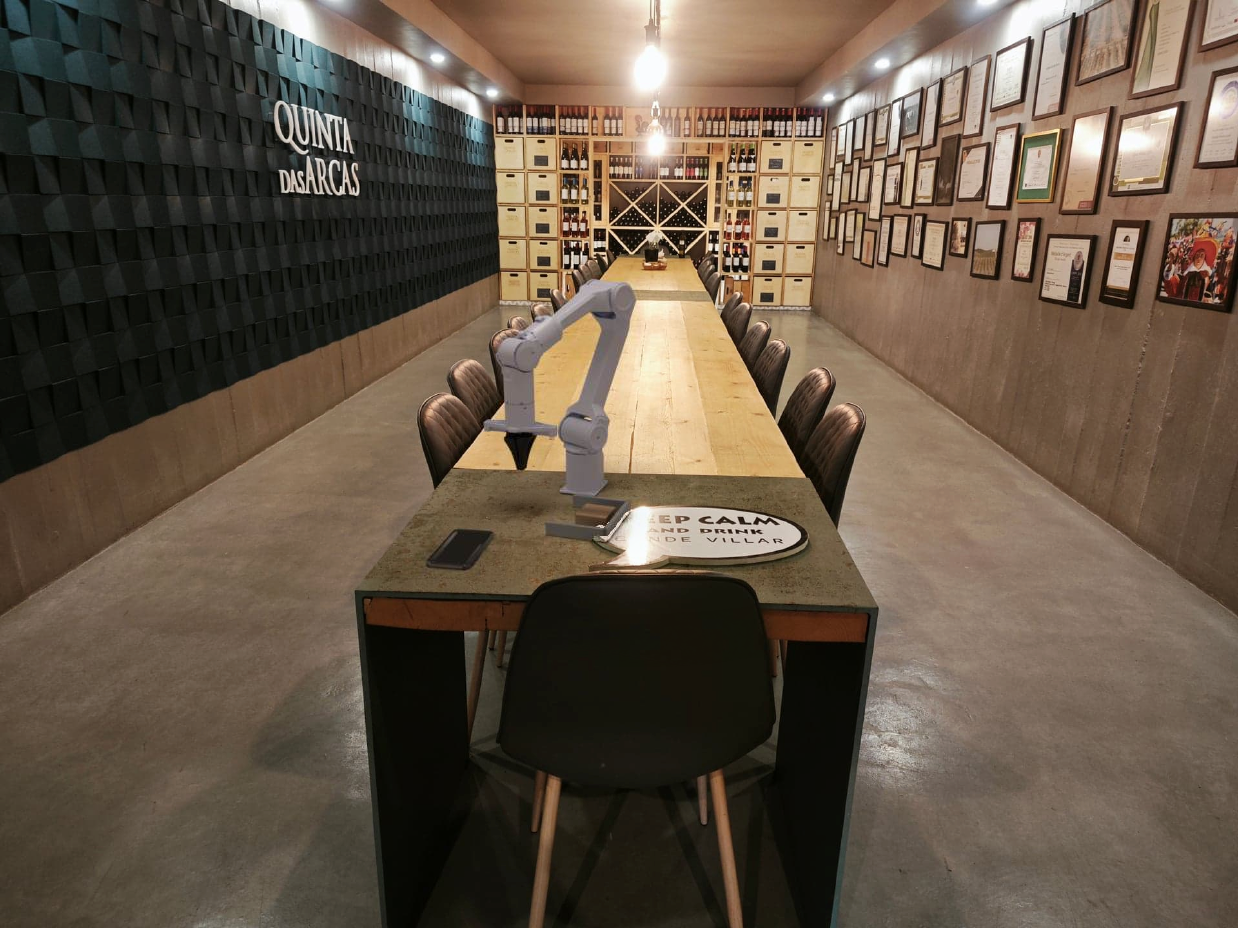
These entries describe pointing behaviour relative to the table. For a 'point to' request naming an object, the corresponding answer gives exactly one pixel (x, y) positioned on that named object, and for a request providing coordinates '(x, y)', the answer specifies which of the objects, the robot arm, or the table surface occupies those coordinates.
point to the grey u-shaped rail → (589, 531)
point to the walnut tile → (594, 515)
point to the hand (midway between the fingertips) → (521, 468)
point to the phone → (460, 549)
